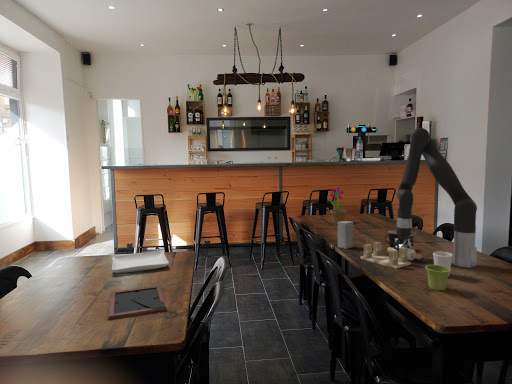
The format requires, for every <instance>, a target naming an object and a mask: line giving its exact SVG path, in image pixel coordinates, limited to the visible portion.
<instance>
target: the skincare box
mask: <svg viewBox="0 0 512 384" xmlns="http://www.w3.org/2000/svg"><path fill="white" fill-rule="evenodd" d="M337 223H338V224H337V248H341V249H345V250H347V249H351V248H353V247H355V246H354V245H355V243H354V240H355V239H354V236H355V235H354V231H355V230H354V221H349V220H348V221H347V220H344V221H341V222H337Z"/></svg>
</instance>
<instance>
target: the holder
mask: <svg viewBox="0 0 512 384" xmlns="http://www.w3.org/2000/svg"><path fill="white" fill-rule="evenodd" d="M388 254H389V255H384V254H382V242H380V241H375V242H373V243H372V244H371V243H367V244H363V255H362V256H361V255H360V259H361V260H365V261H368V262H371V263H373V264H378V265H381V266H385V267H388V268H393V269H400V268H403V267H407V266H410V265H411V264H412V262H411V261H409V260H407V256H408V248H407V247H405V248H399V257H398V251H397V250H391V251H389V252H388Z"/></svg>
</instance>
